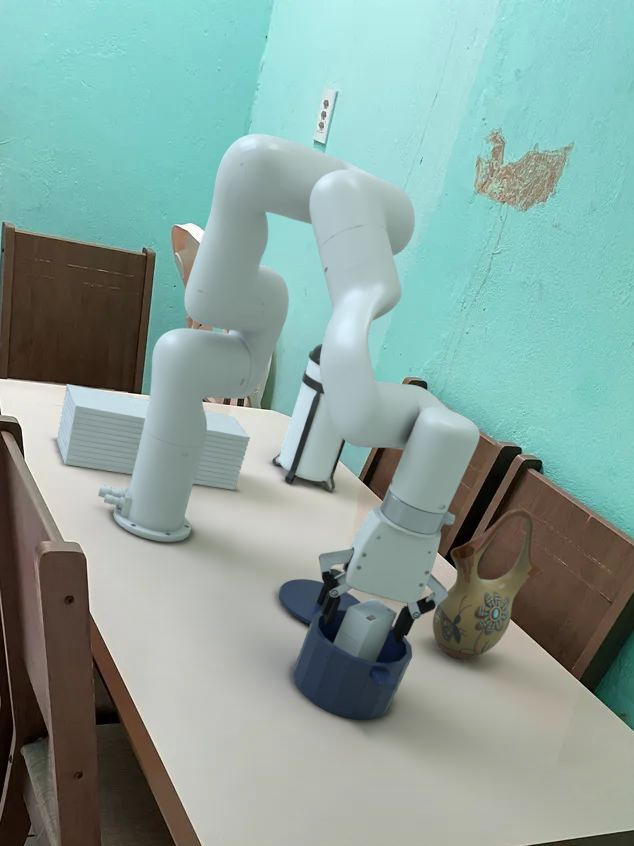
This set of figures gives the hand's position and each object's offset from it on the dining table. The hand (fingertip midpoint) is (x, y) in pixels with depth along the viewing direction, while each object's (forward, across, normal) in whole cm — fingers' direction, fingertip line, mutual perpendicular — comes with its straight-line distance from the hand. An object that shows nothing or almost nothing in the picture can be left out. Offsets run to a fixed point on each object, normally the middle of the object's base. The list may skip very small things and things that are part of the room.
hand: (361, 628), depth 113 cm
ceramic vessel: (+9, -22, -17) cm, 29 cm away
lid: (+9, 0, -20) cm, 22 cm away
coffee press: (+11, 0, -79) cm, 80 cm away
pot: (+9, 0, +1) cm, 9 cm away
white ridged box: (+11, +32, -60) cm, 69 cm away
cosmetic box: (+9, 0, +1) cm, 9 cm away
